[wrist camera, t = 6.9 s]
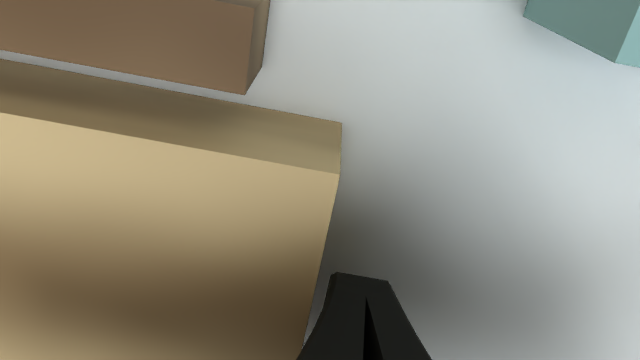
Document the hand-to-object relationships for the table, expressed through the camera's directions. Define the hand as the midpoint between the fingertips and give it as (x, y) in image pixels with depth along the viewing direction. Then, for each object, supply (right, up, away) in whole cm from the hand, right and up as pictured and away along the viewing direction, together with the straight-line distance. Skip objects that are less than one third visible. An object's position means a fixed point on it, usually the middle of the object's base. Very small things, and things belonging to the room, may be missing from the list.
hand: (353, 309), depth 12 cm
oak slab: (-5, +2, +1) cm, 5 cm away
